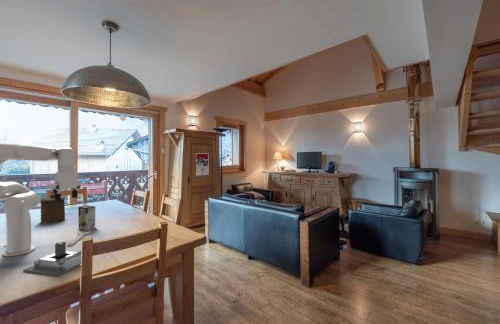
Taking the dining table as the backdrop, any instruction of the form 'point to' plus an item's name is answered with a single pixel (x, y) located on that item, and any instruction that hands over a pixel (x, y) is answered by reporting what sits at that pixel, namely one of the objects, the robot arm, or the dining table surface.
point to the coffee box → (86, 217)
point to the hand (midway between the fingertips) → (66, 199)
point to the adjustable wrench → (79, 238)
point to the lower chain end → (46, 266)
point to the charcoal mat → (47, 271)
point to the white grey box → (63, 260)
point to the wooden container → (52, 210)
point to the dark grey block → (60, 250)
